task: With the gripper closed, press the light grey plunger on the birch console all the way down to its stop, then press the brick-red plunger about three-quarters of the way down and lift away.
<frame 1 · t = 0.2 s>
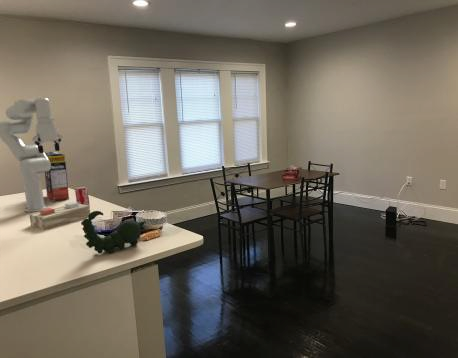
hand: (49, 151, 207), 36 cm above the table, tool pointing down, fingers open, 9 cm apart
red plunger: (47, 213, 192), point 6 cm above the table, slide at 0.0 cm
console: (61, 220, 199), on the table
grey plunger: (72, 206, 203), point 6 cm above the table, slide at 0.0 cm
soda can: (83, 208, 224), on the table
cereal box: (58, 197, 261), on the table
toy figurine: (118, 249, 151), on the table
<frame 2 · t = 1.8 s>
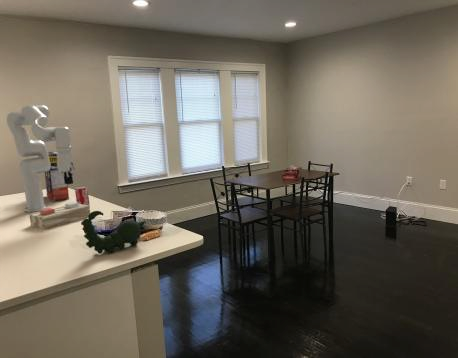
hand: (68, 183, 201), 19 cm above the table, tool pointing down, fingers closed
nothing on the table moved.
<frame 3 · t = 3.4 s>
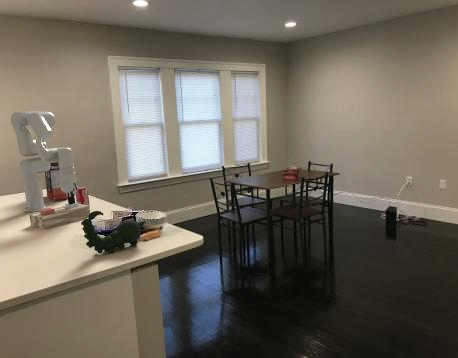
hand: (71, 203, 203), 8 cm above the table, tool pointing down, fingers closed
grey plunger: (72, 207, 204), point 6 cm above the table, slide at 0.1 cm, touching gripper
everything else where it was.
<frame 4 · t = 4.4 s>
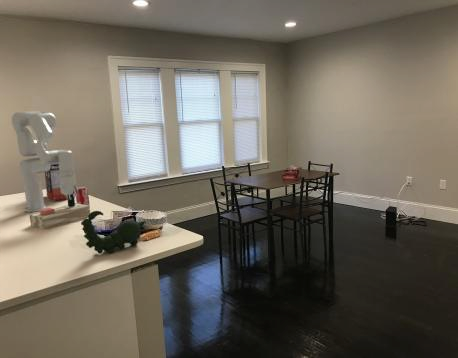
hand: (71, 206, 204), 6 cm above the table, tool pointing down, fingers closed
grey plunger: (72, 210, 204), point 4 cm above the table, slide at 1.8 cm
everything else where it was.
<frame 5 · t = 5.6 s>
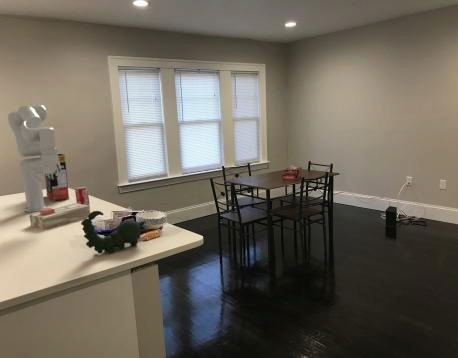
hand: (54, 186, 194), 19 cm above the table, tool pointing down, fingers closed
nothing on the table moved.
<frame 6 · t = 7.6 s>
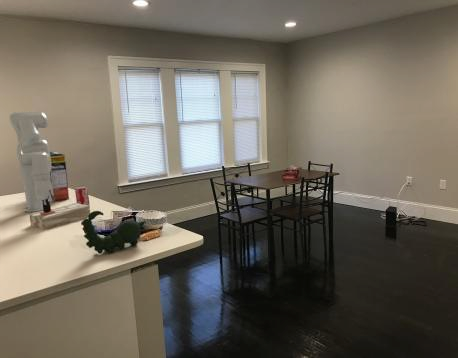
hand: (47, 211, 192), 7 cm above the table, tool pointing down, fingers closed
red plunger: (47, 215, 193), point 5 cm above the table, slide at 1.2 cm, touching gripper
everything else where it was.
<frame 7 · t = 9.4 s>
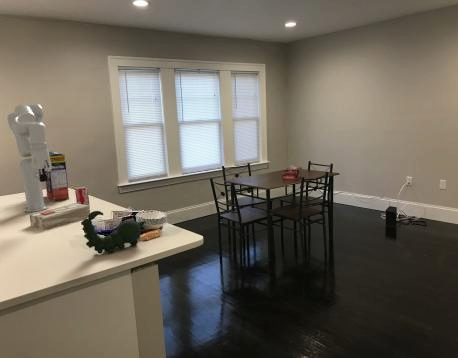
hand: (43, 181, 195), 22 cm above the table, tool pointing down, fingers closed
red plunger: (48, 215, 193), point 5 cm above the table, slide at 1.4 cm
everything else where it was.
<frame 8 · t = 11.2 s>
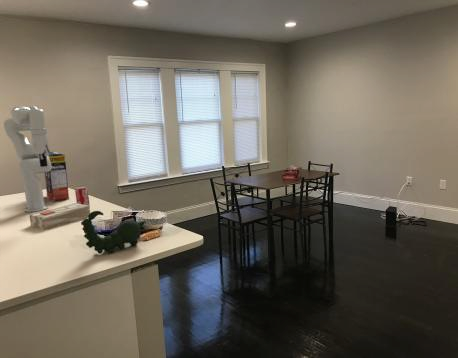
hand: (44, 166, 201), 29 cm above the table, tool pointing down, fingers closed
nothing on the table moved.
at the end: grey plunger slide at 1.8 cm; red plunger slide at 1.4 cm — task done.
